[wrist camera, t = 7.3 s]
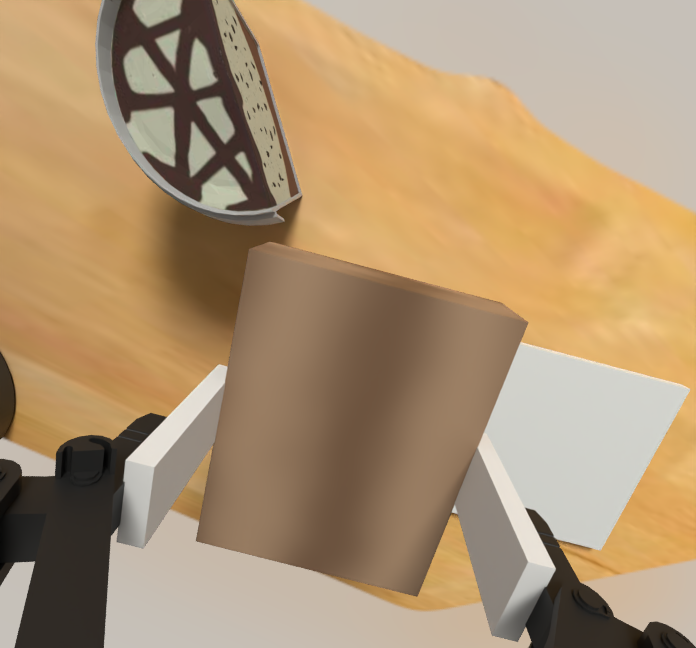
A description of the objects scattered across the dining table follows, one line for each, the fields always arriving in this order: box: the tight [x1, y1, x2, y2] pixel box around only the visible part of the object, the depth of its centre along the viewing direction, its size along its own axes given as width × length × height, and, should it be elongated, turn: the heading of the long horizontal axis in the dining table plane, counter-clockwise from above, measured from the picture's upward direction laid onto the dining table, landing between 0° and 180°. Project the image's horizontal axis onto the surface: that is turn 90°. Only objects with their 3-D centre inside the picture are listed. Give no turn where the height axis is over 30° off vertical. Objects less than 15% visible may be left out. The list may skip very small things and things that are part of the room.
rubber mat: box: [452, 342, 690, 550], centre depth 31 cm, size 16×15×1 cm
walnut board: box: [196, 242, 528, 596], centre depth 17 cm, size 10×13×3 cm
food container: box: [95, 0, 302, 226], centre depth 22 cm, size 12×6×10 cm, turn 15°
